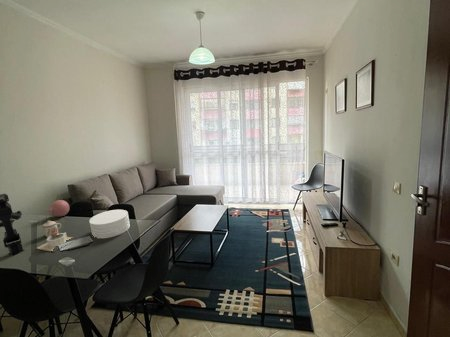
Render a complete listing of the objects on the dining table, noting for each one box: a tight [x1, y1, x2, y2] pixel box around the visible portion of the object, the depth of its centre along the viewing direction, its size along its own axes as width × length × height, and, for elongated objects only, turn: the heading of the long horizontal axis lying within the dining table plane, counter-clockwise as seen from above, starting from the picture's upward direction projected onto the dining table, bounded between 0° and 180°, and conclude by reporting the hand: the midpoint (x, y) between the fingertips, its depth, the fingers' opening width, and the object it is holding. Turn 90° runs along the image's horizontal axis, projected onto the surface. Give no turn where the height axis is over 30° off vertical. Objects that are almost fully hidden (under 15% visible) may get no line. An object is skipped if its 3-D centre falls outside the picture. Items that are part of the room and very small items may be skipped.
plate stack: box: [88, 209, 131, 239], centre depth 203 cm, size 28×28×12 cm
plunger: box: [51, 232, 60, 239], centre depth 186 cm, size 8×8×6 cm
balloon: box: [45, 199, 70, 218], centre depth 239 cm, size 15×20×15 cm
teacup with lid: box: [42, 220, 62, 238], centre depth 204 cm, size 12×9×12 cm
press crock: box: [36, 232, 72, 252], centre depth 187 cm, size 18×18×6 cm
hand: (10, 230), depth 187 cm, fingers closed
